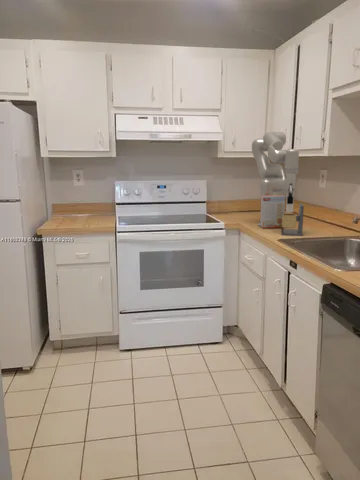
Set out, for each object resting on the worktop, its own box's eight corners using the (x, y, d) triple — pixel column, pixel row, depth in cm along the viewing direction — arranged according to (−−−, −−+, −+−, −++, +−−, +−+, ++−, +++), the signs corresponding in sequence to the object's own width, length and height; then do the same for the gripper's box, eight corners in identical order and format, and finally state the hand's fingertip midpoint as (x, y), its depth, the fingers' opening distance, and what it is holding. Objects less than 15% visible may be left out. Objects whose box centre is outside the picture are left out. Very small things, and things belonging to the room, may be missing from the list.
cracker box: (281, 226, 242) (282, 194, 238) (284, 228, 236) (285, 195, 232) (260, 227, 241) (261, 195, 237) (262, 228, 236) (263, 195, 232)
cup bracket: (281, 230, 227) (282, 203, 224) (300, 231, 224) (302, 203, 221) (281, 235, 212) (282, 205, 209) (302, 235, 209) (304, 206, 206)
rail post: (285, 211, 219) (286, 187, 216) (293, 211, 218) (294, 187, 215) (286, 212, 215) (287, 188, 212) (293, 212, 214) (294, 188, 211)
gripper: (284, 171, 221) (283, 202, 224) (284, 171, 205) (283, 204, 208) (297, 171, 219) (296, 202, 222) (298, 171, 203) (297, 204, 206)
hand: (289, 203), depth 215 cm, fingers closed on rail post, 4 cm apart
